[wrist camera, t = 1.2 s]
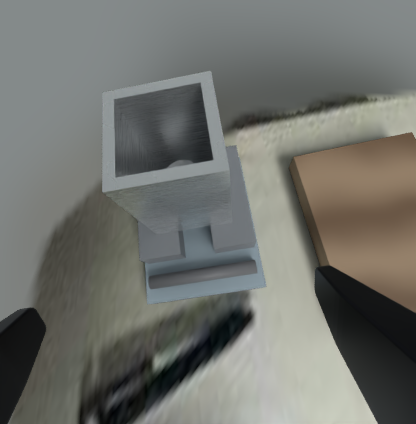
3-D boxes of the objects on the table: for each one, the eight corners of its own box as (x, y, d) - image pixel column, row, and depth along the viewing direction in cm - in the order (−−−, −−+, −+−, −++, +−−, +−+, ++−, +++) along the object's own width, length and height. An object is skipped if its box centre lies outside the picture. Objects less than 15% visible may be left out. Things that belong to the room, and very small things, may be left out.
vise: (263, 287, 20) (276, 283, 14) (155, 303, 21) (117, 307, 14) (239, 168, 24) (240, 119, 17) (147, 184, 24) (114, 143, 18)
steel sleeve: (232, 222, 18) (229, 170, 11) (157, 234, 18) (102, 192, 11) (220, 155, 20) (210, 70, 12) (152, 167, 20) (102, 92, 13)
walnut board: (478, 306, 18) (505, 307, 16) (341, 330, 19) (352, 334, 17) (397, 145, 23) (411, 132, 21) (288, 167, 23) (293, 156, 21)
